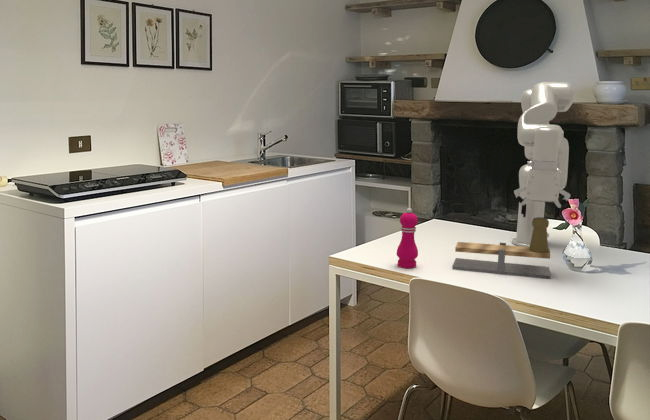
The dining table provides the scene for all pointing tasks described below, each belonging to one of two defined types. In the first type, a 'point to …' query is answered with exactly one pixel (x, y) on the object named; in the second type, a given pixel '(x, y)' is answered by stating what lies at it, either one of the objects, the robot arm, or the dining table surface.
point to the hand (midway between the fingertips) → (539, 217)
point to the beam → (494, 250)
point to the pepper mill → (407, 240)
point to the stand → (502, 267)
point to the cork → (539, 235)
